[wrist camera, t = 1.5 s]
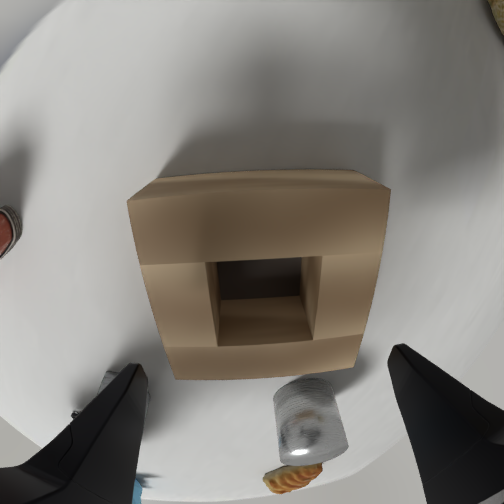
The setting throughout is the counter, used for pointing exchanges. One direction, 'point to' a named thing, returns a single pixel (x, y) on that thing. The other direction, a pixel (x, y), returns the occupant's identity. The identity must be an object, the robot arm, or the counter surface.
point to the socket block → (260, 268)
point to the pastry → (291, 477)
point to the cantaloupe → (498, 12)
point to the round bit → (308, 423)
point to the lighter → (9, 229)
